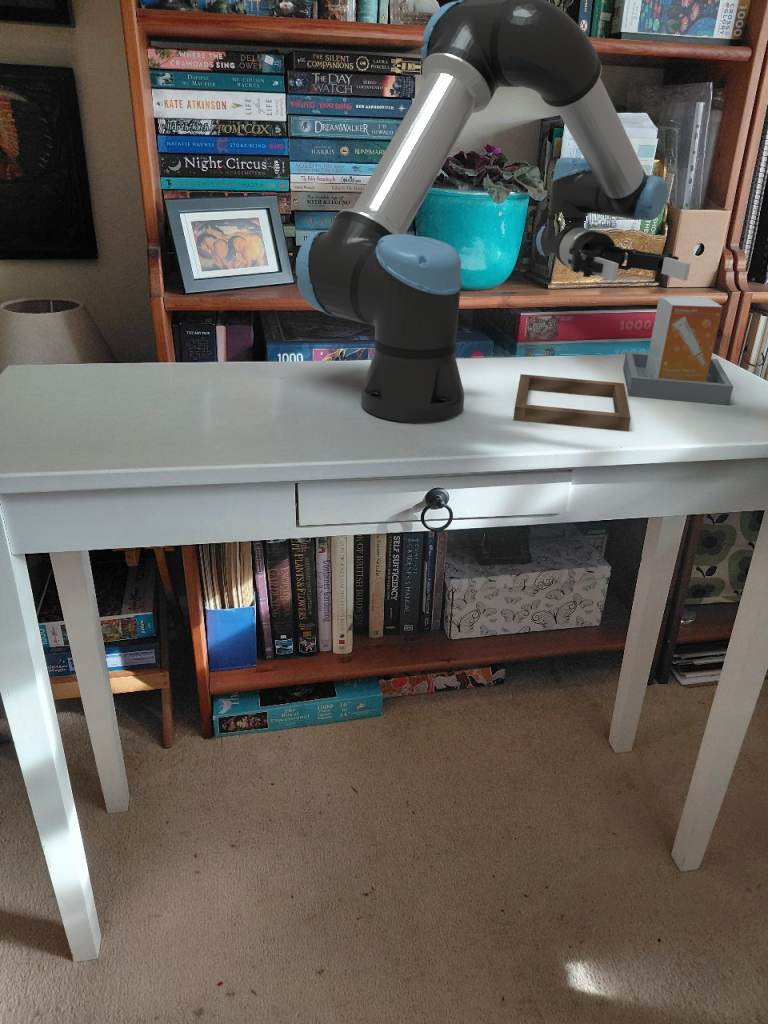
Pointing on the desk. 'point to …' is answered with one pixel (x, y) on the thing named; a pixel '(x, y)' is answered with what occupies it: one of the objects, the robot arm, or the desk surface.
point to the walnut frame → (573, 416)
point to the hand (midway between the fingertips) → (651, 272)
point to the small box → (683, 338)
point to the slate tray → (676, 383)
